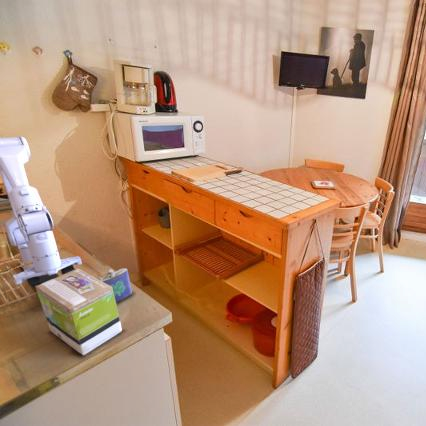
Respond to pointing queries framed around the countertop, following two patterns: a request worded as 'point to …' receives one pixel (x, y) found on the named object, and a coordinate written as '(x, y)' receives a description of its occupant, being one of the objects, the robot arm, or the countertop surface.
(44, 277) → the tongue pad
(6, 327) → the countertop surface
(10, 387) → the countertop surface
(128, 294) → the flask
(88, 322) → the tea box
